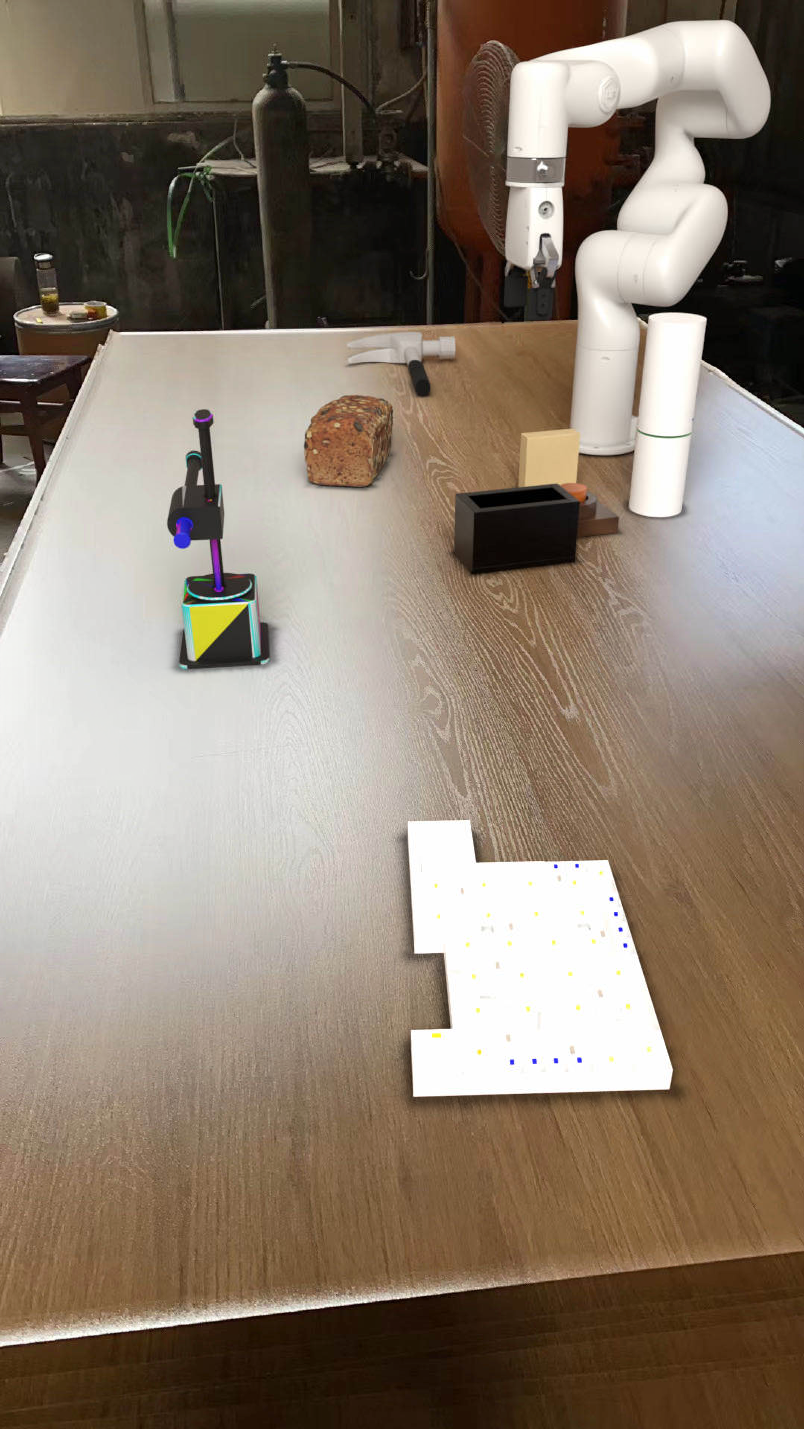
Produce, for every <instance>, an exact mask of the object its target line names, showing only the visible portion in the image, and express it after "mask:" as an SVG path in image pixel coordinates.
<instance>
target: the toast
mask: <svg viewBox="0 0 804 1429" xmlns="http://www.w3.org/2000/svg"><path fill="white" fill-rule="evenodd" d="M579 443H580V433H579V432H577V431H576V430H574V429H570V428H565V429H554V430H553V429H552V430H541V431H532V432H522V433H520V447H519V448H520V449H519V464H518V466H519V467H518V487H527V486H537V485H546V484H556V483H557V484H559V485H562V484H565V483H577V479H578V466H579V454H580V453H579Z"/></svg>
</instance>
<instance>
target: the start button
mask: <svg viewBox="0 0 804 1429" xmlns="http://www.w3.org/2000/svg"><path fill="white" fill-rule="evenodd" d="M560 486H561V487H563V488H564V489H565V490H566V491H568V492H569V493H570V494H571V495H573V496H574V497H575V498H576V499H578V500H579V501H580V502H584V501H586V493H587V492H588V487H587V486H586V485H585V484H581V483H578V482H576V483H565V484H562V485H560Z"/></svg>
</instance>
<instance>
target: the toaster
mask: <svg viewBox="0 0 804 1429" xmlns="http://www.w3.org/2000/svg"><path fill="white" fill-rule="evenodd" d="M454 496H455V497H454V540H453V542H454V543H453V547H454V548H453V554H454V555H455V556H456V558H457V559H458V560H459V561H460V562H461V563H462V564H463V566H464V567H465V568H466V569H467V570H468V572H470V574H471V575H478V574H479V575H480V574H488V573H496V572H505V571H511V570H512V571H514V570H520V569H528V568H538V567H546V566H553V565H561V564H571V563H575V562H576V556H577V554H576V553H577V543H578V537H577V532H578V520H579V508H580V501H579V500H578V499H576V498H575V497H574V496H573V495H571V494H570V493H569V492H568V491H566V490H565V489H564V488H563V487H561V486H560V485H559V484H557V483H556V484H546V485H537V486H527V487H508V488H507V487H506V488H500V489H489V490H488V489H487V490H479V491H472V492H459V493H455V495H454Z"/></svg>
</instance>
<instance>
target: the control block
mask: <svg viewBox="0 0 804 1429" xmlns="http://www.w3.org/2000/svg"><path fill="white" fill-rule="evenodd" d="M619 521H620V516H618V515H617V514H616V513H615V512H613V511H612V510H611V509H610V508H608V507H607V506H605V504H603V503H602V502H600V501H599V497H598V496H597V495H595V494H594V493H593V492H590V491H587V493H586V501H584V502H580V508H579V520H578V532H577V538H584V537H590V536H591V537H592V536H601V535H608V534H609V535H611V534H617V533H618V531H619Z"/></svg>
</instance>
